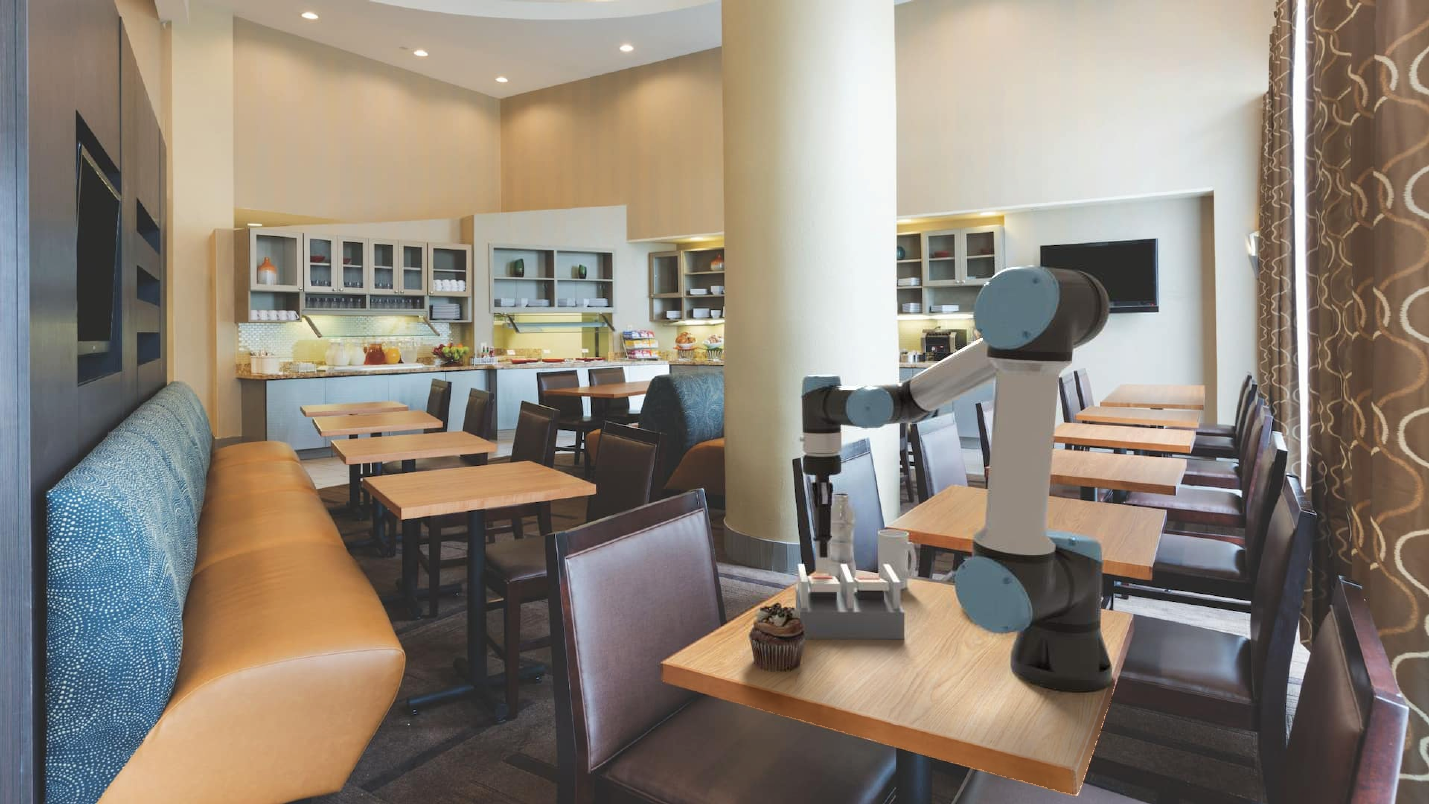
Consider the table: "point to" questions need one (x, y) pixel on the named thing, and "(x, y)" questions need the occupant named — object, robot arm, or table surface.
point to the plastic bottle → (842, 535)
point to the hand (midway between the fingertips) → (822, 572)
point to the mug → (896, 554)
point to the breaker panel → (851, 609)
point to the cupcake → (777, 638)
